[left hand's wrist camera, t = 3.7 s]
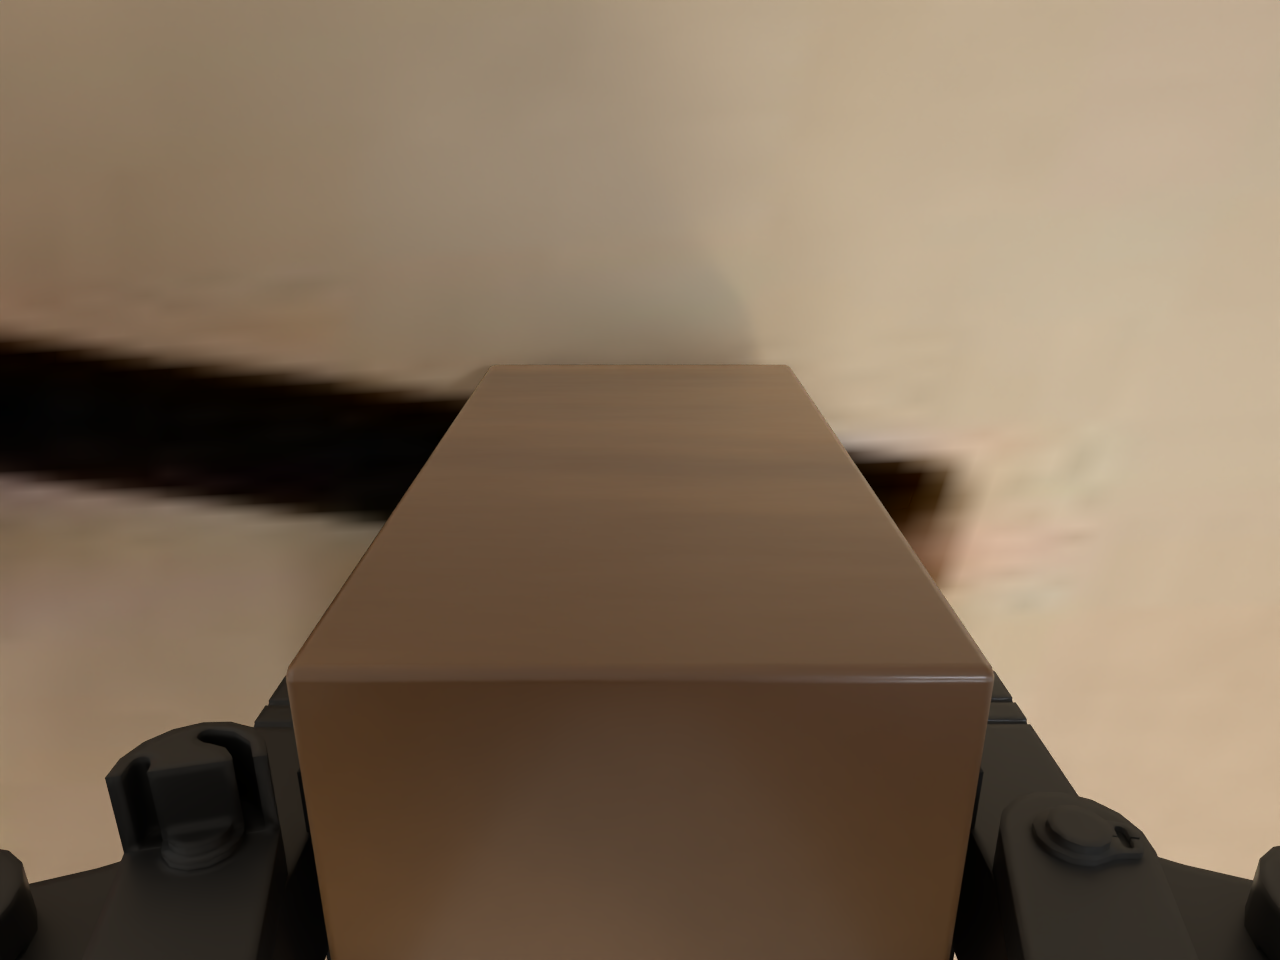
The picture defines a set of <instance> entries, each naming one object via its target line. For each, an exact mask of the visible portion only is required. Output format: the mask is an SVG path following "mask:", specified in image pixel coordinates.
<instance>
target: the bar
mask: <svg viewBox="0 0 1280 960" xmlns="http://www.w3.org/2000/svg"><path fill="white" fill-rule="evenodd" d="M286 683H287V689H288V695H289V701H290V708H291V714H292V720H293V726H294V733H295V739H296V745H297V751H298V758H299V764H300V770H301V776H302V783H303V789H304V795H305V801H306V807H307V814H308V820H309V826H310V832H311V839H312V845H313V851H314V857H315V864H316V870H317V876H318V882H319V888H320V895H321V901H322V907H323V913H324V920H325V926H326V932H327V938H328V945H329V951H330V957H331V960H949V958H950V952H951V946H952V940H953V933H954V927H955V921H956V915H957V908H958V902H959V896H960V890H961V884H962V877H963V871H964V865H965V859H966V852H967V846H968V840H969V834H970V828H971V821H972V815H973V809H974V803H975V796H976V790H977V784H978V778H979V772H980V765H981V759H982V753H983V747H984V740H985V734H986V728H987V722H988V716H989V709H990V703H991V697H992V691H993V684H994V673H993V670H992V667H991V665H990V664H989V662H988V661H987V659H986V658H985V656H984V655H983V653H982V652H981V650H980V649H979V647H978V646H977V644H976V643H975V641H974V640H973V638H972V637H971V635H970V634H969V632H968V631H967V630H966V628H965V627H964V625H963V624H962V622H961V621H960V619H959V618H958V616H957V615H956V613H955V612H954V610H953V609H952V607H951V606H950V604H949V603H948V601H947V600H946V598H945V597H944V595H943V594H942V592H941V591H940V589H939V588H938V586H937V585H936V583H935V582H934V580H933V579H932V578H931V576H930V575H929V573H928V572H927V570H926V569H925V567H924V566H923V564H922V563H921V561H920V560H919V558H918V557H917V555H916V554H915V552H914V551H913V549H912V548H911V546H910V545H909V543H908V542H907V540H906V539H905V537H904V536H903V534H902V533H901V531H900V530H899V529H898V527H897V526H896V524H895V523H894V521H893V520H892V518H891V517H890V515H889V514H888V512H887V511H886V509H885V508H884V506H883V505H882V503H881V502H880V500H879V499H878V497H877V496H876V494H875V493H874V491H873V490H872V488H871V487H870V485H869V484H868V482H867V481H866V480H865V478H864V477H863V475H862V474H861V472H860V471H859V469H858V468H857V466H856V465H855V463H854V462H853V460H852V459H851V457H850V456H849V454H848V453H847V451H846V450H845V448H844V447H843V445H842V444H841V442H840V441H839V439H838V438H837V436H836V435H835V433H834V432H833V430H832V429H831V428H830V426H829V425H828V423H827V422H826V420H825V419H824V417H823V416H822V414H821V413H820V411H819V410H818V408H817V407H816V405H815V404H814V402H813V401H812V399H811V398H810V396H809V395H808V393H807V392H806V390H805V389H804V387H803V386H802V384H801V383H800V381H799V380H798V379H797V377H796V376H795V374H794V373H793V371H792V370H791V368H790V367H789V366H786V365H494V366H491V367H490V368H489V370H488V371H487V373H486V374H485V376H484V377H483V378H482V380H481V381H480V383H479V384H478V386H477V387H476V389H475V390H474V392H473V393H472V395H471V396H470V398H469V399H468V401H467V402H466V404H465V405H464V407H463V408H462V410H461V411H460V413H459V414H458V416H457V417H456V419H455V420H454V422H453V423H452V425H451V426H450V428H449V429H448V431H447V432H446V434H445V435H444V436H443V438H442V439H441V441H440V442H439V444H438V445H437V447H436V448H435V450H434V451H433V453H432V454H431V456H430V457H429V459H428V460H427V462H426V463H425V465H424V466H423V468H422V469H421V471H420V472H419V474H418V475H417V477H416V478H415V480H414V481H413V483H412V484H411V486H410V487H409V489H408V490H407V492H406V493H405V494H404V496H403V497H402V499H401V500H400V502H399V503H398V505H397V506H396V508H395V509H394V511H393V512H392V514H391V515H390V517H389V518H388V520H387V521H386V523H385V524H384V526H383V527H382V529H381V530H380V532H379V533H378V535H377V536H376V538H375V539H374V541H373V542H372V544H371V545H370V547H369V548H368V550H367V551H366V553H365V554H364V555H363V557H362V558H361V560H360V561H359V563H358V564H357V566H356V567H355V569H354V570H353V572H352V573H351V575H350V576H349V578H348V579H347V581H346V582H345V584H344V585H343V587H342V588H341V590H340V591H339V593H338V594H337V596H336V597H335V599H334V600H333V602H332V603H331V605H330V606H329V608H328V609H327V611H326V612H325V613H324V615H323V616H322V618H321V619H320V621H319V622H318V624H317V625H316V627H315V628H314V630H313V631H312V633H311V634H310V636H309V637H308V639H307V640H306V642H305V643H304V645H303V646H302V648H301V649H300V651H299V652H298V654H297V655H296V657H295V658H294V660H293V661H292V663H291V664H290V666H289V667H288V671H287V674H286Z"/></svg>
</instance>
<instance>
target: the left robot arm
mask: <svg viewBox="0 0 1280 960" xmlns="http://www.w3.org/2000/svg"><path fill="white" fill-rule="evenodd" d="M993 673H994V684H993V691H992V697H991V703H990V709H989V716H988V722H987V728H986V734H985V740H984V747H983V753H982V759H981V765H980V772H979V778H978V784H977V790H976V796H975V803H974V809H973V815H972V821H971V828H970V834H969V840H968V846H967V852H966V859H965V865H964V871H963V877H962V884H961V890H960V896H959V902H958V908H957V915H956V921H955V927H954V933H953V940H952V946H951V952H950V958H949V960H953V958H954V952H955V954H956V957H957V959H958V960H1280V846H1276V847H1273V848H1272V849H1270V850H1269V851H1268V852H1267V853H1266V854H1265V855H1264V856H1262V857H1261V858H1260V860H1259V863H1258V866H1257V870H1256V873H1255V876H1254V879H1253V880H1249V879H1244V878H1240V877H1235V876H1231V875H1227V874H1222V873H1218V872H1213V871H1209V870H1205V869H1200V868H1196V867H1191V866H1187V865H1183V864H1180V863H1176V862H1173V861H1170V860H1166V859H1163V858H1160V857H1158V856H1157V854H1156V852H1155V850H1154V849H1153V847H1152V846H1151V844H1150V843H1149V841H1148V840H1147V838H1146V837H1145V835H1144V834H1143V832H1142V831H1141V830H1139V829H1138V828H1137V827H1136V826H1134V825H1133V824H1132V823H1131V822H1129V821H1128V820H1127V819H1126V818H1124V817H1123V816H1122V815H1121V814H1119V813H1117V812H1115V811H1113V810H1111V809H1109V808H1107V807H1105V806H1103V805H1101V804H1099V803H1097V802H1095V801H1093V800H1090V799H1086V798H1083V797H1079V796H1078V795H1077V793H1076V792H1075V790H1074V789H1073V787H1072V786H1071V784H1070V783H1069V781H1068V780H1067V778H1066V777H1065V775H1064V774H1063V772H1062V771H1061V769H1060V768H1059V766H1058V765H1057V763H1056V762H1055V760H1054V759H1053V758H1052V756H1051V755H1050V753H1049V752H1048V750H1047V749H1046V747H1045V746H1044V744H1043V743H1042V741H1041V740H1040V738H1039V737H1038V735H1037V734H1036V732H1035V731H1034V729H1033V728H1032V726H1031V725H1030V724H1027V722H1026V720H1027V719H1026V717H1025V716H1024V714H1023V713H1022V711H1021V710H1020V708H1019V707H1018V705H1017V704H1016V703H1013V702H1012V696H1011V695H1010V693H1009V692H1008V690H1007V689H1006V688H1005V686H1004V685H1003V683H1002V682H1001V680H1000V679H999V677H998V676H997V674H996V673H995V671H993ZM105 779H106V783H107V787H108V791H109V795H110V799H111V803H112V807H113V811H114V815H115V819H116V823H117V827H118V831H119V835H120V839H121V842H122V846H123V850H124V855H123V858H122V860H121V861H120V862H117V863H114V864H110V865H107V866H104V867H100V868H97V869H93V870H88V871H84V872H79V873H75V874H71V875H66V876H62V877H58V878H53V879H49V880H44V881H40V882H36V883H31V884H29V883H28V880H27V877H26V874H25V870H24V867H23V864H22V862H21V861H20V860H19V859H17V858H16V857H15V856H14V855H13V854H12V853H11V852H10V851H7V850H1V849H0V960H325V958H326V955H327V960H331V957H330V951H329V945H328V938H327V932H326V926H325V920H324V913H323V907H322V901H321V895H320V888H319V882H318V876H317V870H316V864H315V857H314V851H313V845H312V839H311V832H310V826H309V820H308V814H307V807H306V801H305V795H304V789H303V783H302V776H301V770H300V764H299V758H298V751H297V745H296V739H295V733H294V726H293V720H292V714H291V708H290V701H289V695H288V689H287V683H286V676H285V677H284V679H283V680H282V682H281V683H280V685H279V686H278V688H277V689H276V691H275V692H274V694H273V695H272V697H271V698H270V700H269V705H268V706H265V707H264V709H263V710H262V712H261V713H260V715H259V716H258V718H257V719H256V721H255V726H254V727H249V726H245V725H241V724H237V723H233V722H203V723H199V724H194V725H190V726H186V727H181V728H177V729H173V730H170V731H168V732H166V733H164V734H161V735H159V736H157V737H154V738H152V739H150V740H147V741H145V742H143V743H142V744H140V745H139V746H138V747H136V748H135V749H133V750H132V751H130V752H129V753H128V754H126V755H125V756H123V757H122V758H121V759H120V760H119V761H118V762H117V763H116V765H115V766H114V767H113V768H112V770H111V771H110V772H109V774H108V775H107V776H106V777H105Z"/></svg>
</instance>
